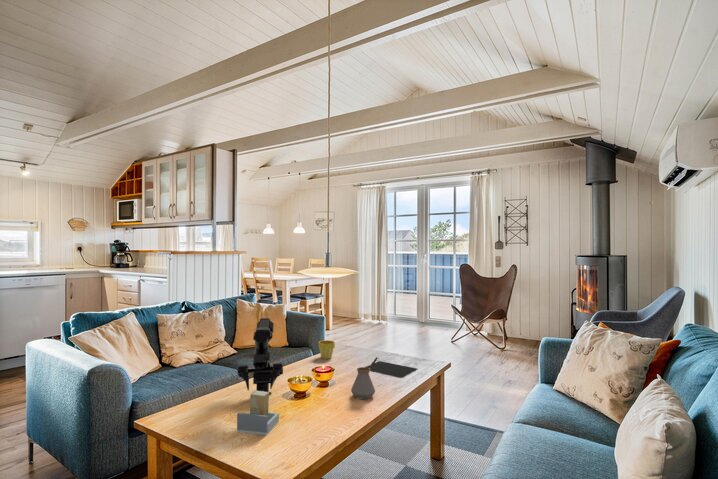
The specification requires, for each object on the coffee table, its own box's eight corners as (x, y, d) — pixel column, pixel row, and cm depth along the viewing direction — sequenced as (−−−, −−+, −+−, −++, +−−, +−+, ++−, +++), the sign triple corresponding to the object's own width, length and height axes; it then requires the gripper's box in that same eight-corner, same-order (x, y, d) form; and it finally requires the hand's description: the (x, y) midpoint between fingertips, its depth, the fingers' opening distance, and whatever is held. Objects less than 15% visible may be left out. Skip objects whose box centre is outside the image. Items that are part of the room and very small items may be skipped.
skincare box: (248, 425, 156) (249, 393, 156) (254, 420, 160) (254, 390, 160) (264, 427, 154) (264, 395, 155) (268, 422, 159) (269, 391, 159)
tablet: (418, 368, 233) (401, 377, 217) (418, 369, 233) (401, 379, 217) (379, 360, 249) (361, 368, 232) (379, 362, 249) (361, 370, 232)
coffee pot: (368, 402, 183) (368, 369, 183) (346, 397, 188) (346, 365, 188) (387, 388, 201) (387, 358, 202) (367, 384, 207) (367, 355, 207)
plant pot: (336, 355, 260) (336, 340, 260) (332, 360, 249) (333, 344, 249) (320, 354, 261) (320, 339, 261) (316, 359, 251) (316, 343, 251)
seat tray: (251, 418, 164) (251, 401, 164) (278, 421, 162) (279, 404, 162) (236, 432, 152) (237, 413, 152) (266, 435, 150) (266, 416, 150)
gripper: (237, 346, 170) (233, 382, 159) (282, 344, 172) (281, 379, 161) (240, 359, 177) (237, 394, 167) (283, 357, 180) (282, 390, 169)
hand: (259, 389), depth 166 cm, fingers open, 9 cm apart
